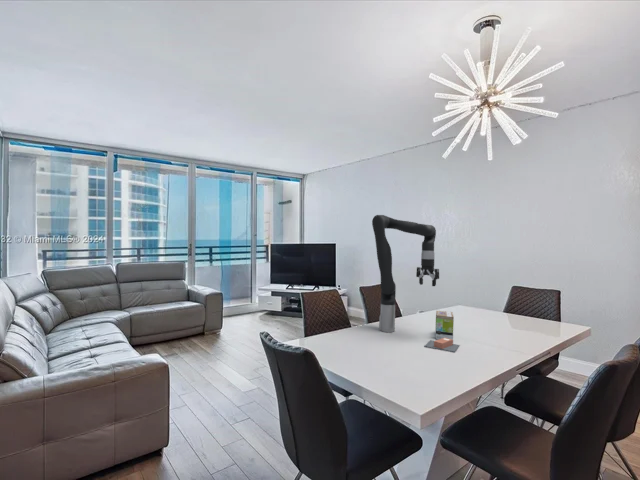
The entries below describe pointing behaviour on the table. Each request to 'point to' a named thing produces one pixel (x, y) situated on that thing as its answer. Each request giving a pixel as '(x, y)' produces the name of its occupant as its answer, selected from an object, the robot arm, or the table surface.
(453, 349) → the mat
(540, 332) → the table surface
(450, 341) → the card box
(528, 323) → the table surface
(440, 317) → the tea box
